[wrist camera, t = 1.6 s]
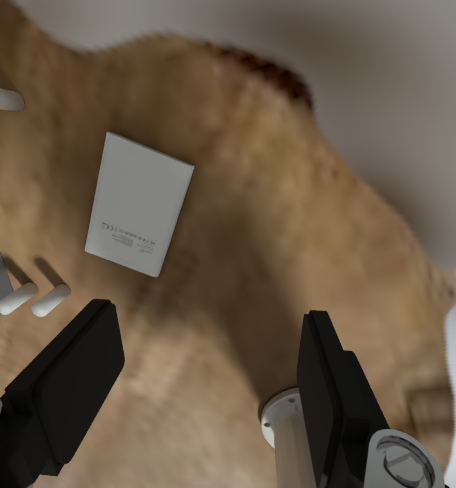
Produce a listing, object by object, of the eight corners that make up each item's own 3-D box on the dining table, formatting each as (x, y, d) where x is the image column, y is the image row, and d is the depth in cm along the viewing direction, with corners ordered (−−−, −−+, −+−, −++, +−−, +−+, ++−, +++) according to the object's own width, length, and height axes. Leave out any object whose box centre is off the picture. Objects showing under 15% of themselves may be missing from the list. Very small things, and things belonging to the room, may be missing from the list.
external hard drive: (196, 165, 26) (161, 272, 30) (113, 131, 25) (90, 245, 30) (193, 166, 24) (156, 279, 29) (105, 131, 24) (82, 251, 28)
